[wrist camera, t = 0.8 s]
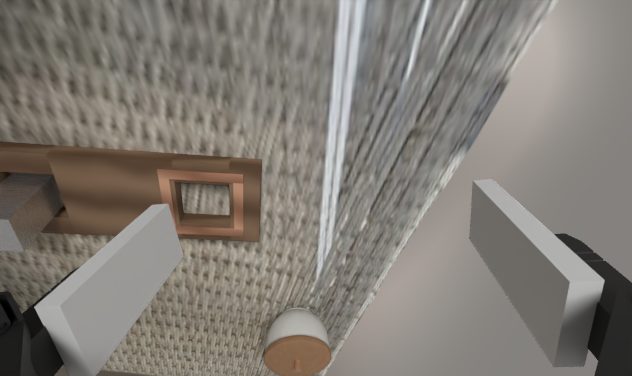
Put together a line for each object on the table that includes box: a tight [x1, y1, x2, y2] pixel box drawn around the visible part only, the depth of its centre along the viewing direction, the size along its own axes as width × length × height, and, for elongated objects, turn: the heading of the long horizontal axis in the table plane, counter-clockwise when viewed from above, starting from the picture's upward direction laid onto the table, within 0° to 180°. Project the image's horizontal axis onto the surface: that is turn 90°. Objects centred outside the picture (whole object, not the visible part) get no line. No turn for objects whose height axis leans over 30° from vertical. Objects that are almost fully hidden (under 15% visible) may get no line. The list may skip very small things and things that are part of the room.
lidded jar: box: [264, 307, 331, 376], centre depth 59 cm, size 11×11×9 cm
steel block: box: [0, 172, 64, 251], centre depth 41 cm, size 4×4×9 cm
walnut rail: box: [0, 142, 262, 242], centre depth 44 cm, size 12×34×2 cm, turn 83°
